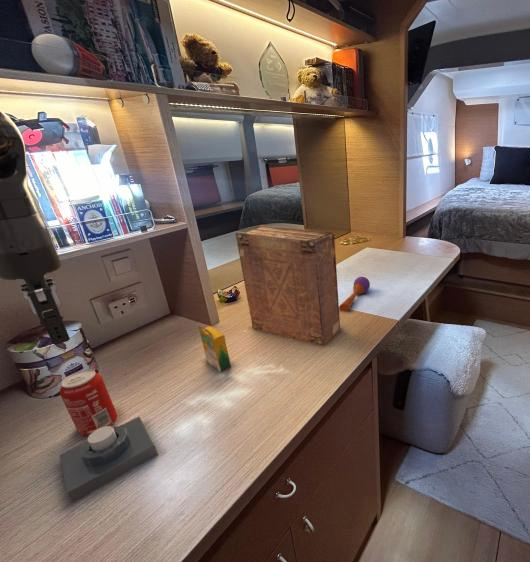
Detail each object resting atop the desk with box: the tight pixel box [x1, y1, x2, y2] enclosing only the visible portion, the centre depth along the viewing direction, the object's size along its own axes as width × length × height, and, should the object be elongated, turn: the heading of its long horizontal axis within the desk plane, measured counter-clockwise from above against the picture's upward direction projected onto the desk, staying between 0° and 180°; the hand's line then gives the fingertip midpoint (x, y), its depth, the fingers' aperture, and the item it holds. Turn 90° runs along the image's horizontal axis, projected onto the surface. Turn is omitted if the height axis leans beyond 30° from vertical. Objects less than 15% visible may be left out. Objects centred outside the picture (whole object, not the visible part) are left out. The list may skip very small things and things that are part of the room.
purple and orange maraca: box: [339, 276, 371, 312], centre depth 119 cm, size 6×6×20 cm
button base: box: [59, 416, 159, 503], centre depth 59 cm, size 12×10×5 cm
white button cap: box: [87, 425, 117, 452], centre depth 58 cm, size 4×4×2 cm
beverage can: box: [59, 369, 118, 436], centre depth 66 cm, size 6×6×12 cm
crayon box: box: [197, 323, 232, 373], centre depth 84 cm, size 7×3×12 cm, turn 50°
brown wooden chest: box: [235, 224, 341, 347], centre depth 95 cm, size 25×9×30 cm, turn 66°
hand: (58, 333), depth 60 cm, fingers open, 8 cm apart
